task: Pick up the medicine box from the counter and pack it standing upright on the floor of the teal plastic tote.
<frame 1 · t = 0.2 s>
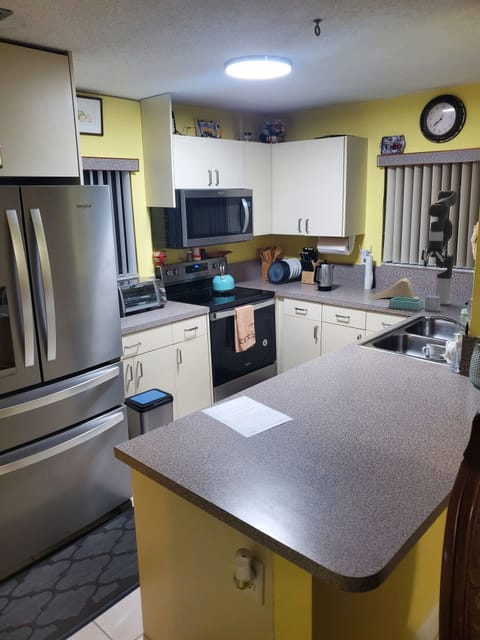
hand: (433, 267, 286), 28 cm above the counter, tool pointing down, fingers open, 8 cm apart
medicine box: (431, 310, 306), on the counter
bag: (393, 299, 349), on the counter
tote: (406, 307, 315), on the counter
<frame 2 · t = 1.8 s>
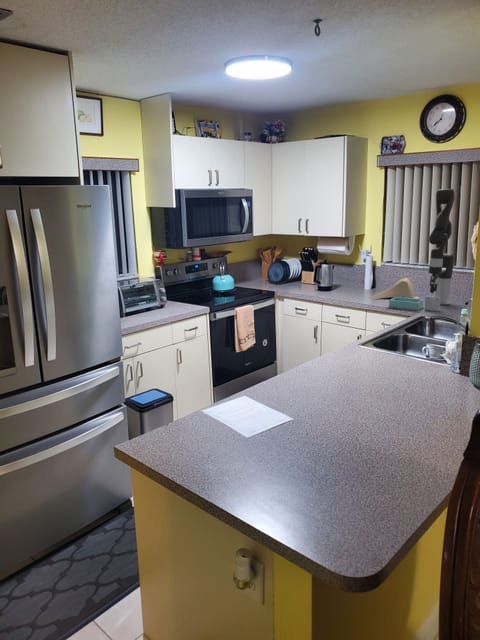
hand: (433, 291, 304), 12 cm above the counter, tool pointing down, fingers open, 8 cm apart
nothing on the counter moved.
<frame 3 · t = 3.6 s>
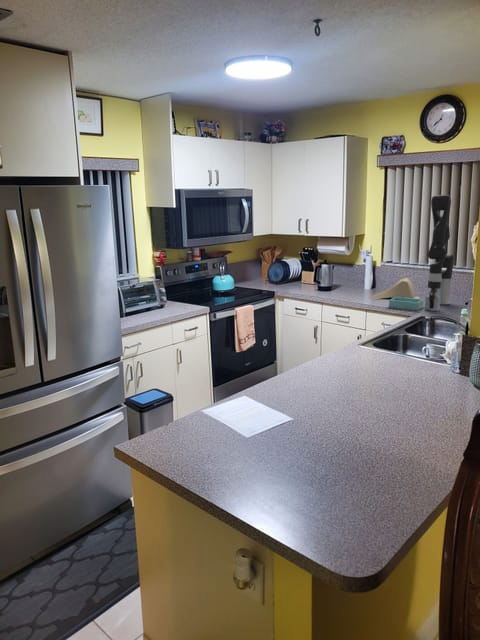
hand: (432, 307, 306), 2 cm above the counter, tool pointing down, fingers closed on medicine box, 5 cm apart
medicine box: (431, 310, 306), on the counter, touching gripper
everything else where it was.
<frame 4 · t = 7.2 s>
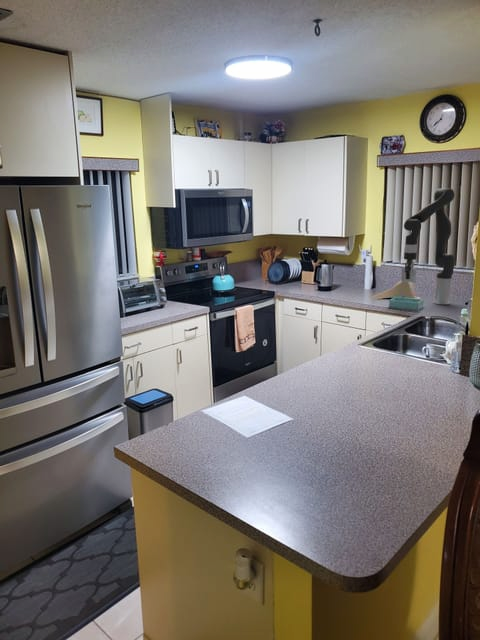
hand: (408, 278, 311), 19 cm above the counter, tool pointing down, fingers closed on medicine box, 5 cm apart
medicine box: (408, 281, 311), point 17 cm above the counter, touching gripper
everything else where it was.
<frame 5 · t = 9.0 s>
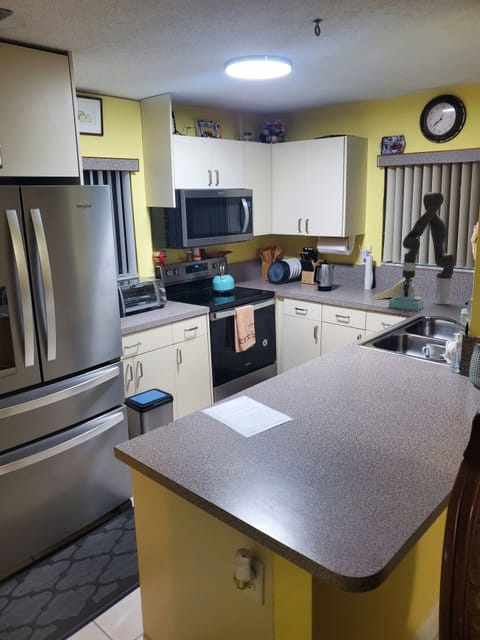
hand: (406, 296, 313), 7 cm above the counter, tool pointing down, fingers closed on medicine box, 5 cm apart
medicine box: (406, 299, 314), point 5 cm above the counter, touching gripper
when the fingers open (4 cm above the counter, at t = 10.6 s): medicine box stays where it is, resting on tote.
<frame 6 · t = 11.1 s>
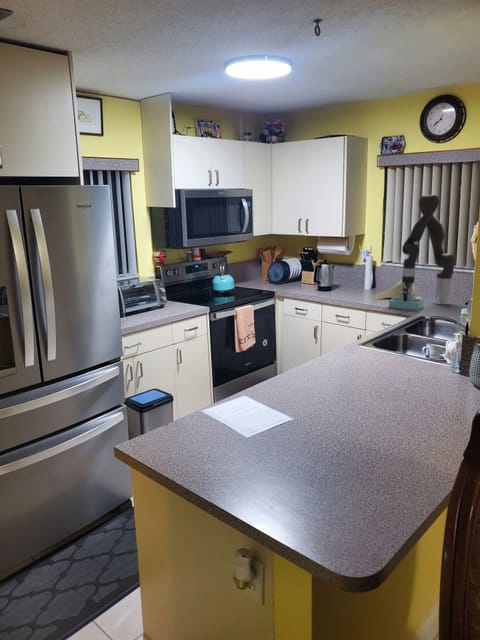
hand: (406, 300, 314), 5 cm above the counter, tool pointing down, fingers open, 8 cm apart
medicine box: (406, 306, 315), point 1 cm above the counter, touching tote
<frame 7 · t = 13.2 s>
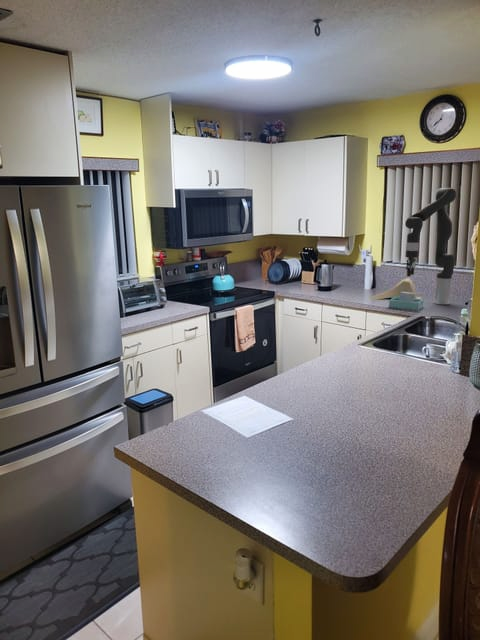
hand: (410, 275, 311), 21 cm above the counter, tool pointing down, fingers open, 8 cm apart
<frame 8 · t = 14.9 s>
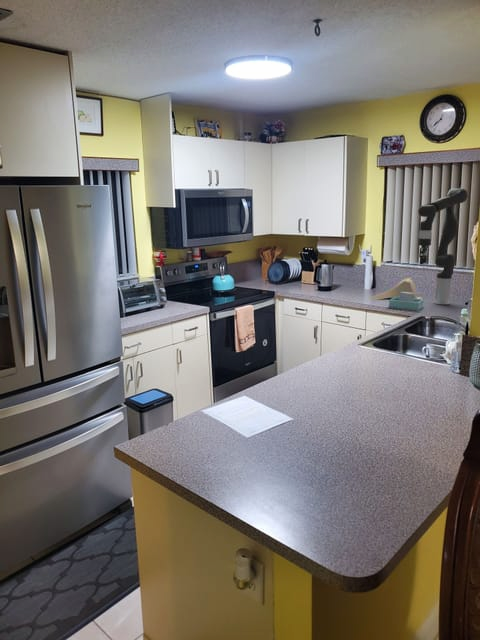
hand: (422, 263, 310), 28 cm above the counter, tool pointing down, fingers open, 8 cm apart
at the end: medicine box inside the target area on the tote (0.1 cm from its centre), point 0.8 cm above the tote's base; medicine box tilted 0°; the gripper is holding nothing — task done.
